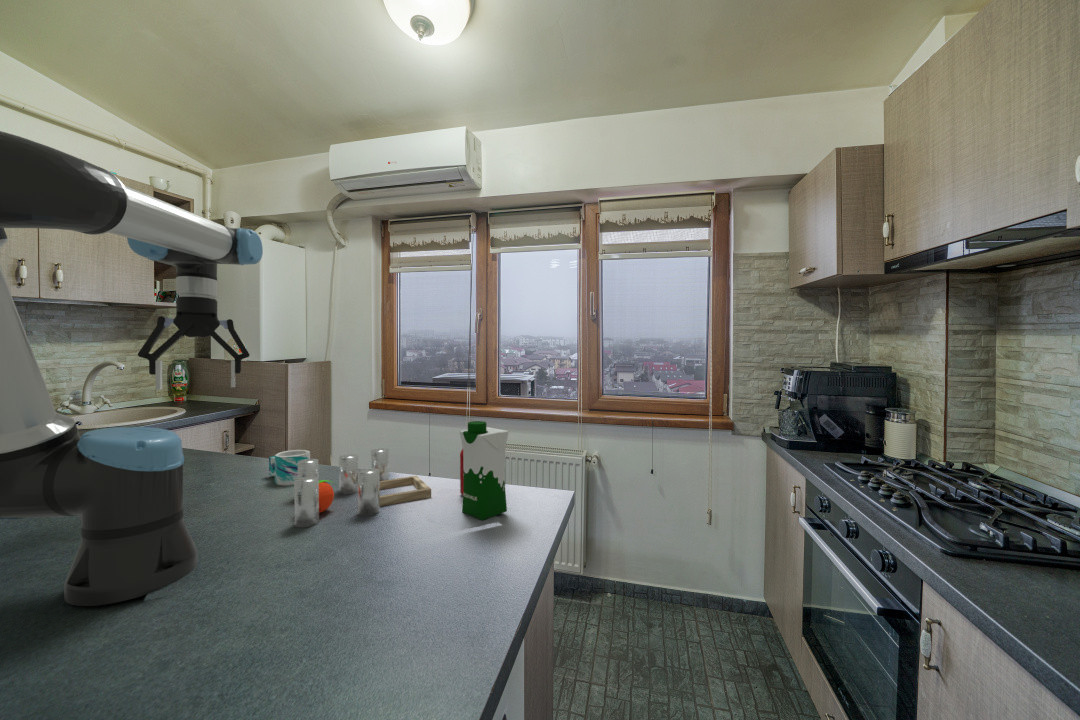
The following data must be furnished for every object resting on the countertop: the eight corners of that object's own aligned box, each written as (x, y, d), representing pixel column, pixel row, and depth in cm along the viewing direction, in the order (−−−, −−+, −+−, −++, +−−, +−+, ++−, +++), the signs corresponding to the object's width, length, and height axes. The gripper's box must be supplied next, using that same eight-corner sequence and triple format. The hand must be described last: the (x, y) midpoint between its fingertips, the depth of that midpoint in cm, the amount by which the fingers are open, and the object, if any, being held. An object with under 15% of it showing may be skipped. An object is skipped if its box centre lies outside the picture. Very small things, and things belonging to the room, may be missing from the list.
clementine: (332, 503, 100) (332, 473, 99) (343, 511, 95) (343, 479, 94) (294, 512, 94) (294, 480, 94) (304, 521, 89) (303, 487, 89)
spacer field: (409, 508, 97) (409, 468, 96) (295, 529, 85) (294, 484, 85) (386, 480, 118) (386, 447, 117) (292, 494, 106) (292, 458, 106)
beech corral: (431, 497, 104) (431, 489, 104) (373, 507, 97) (373, 498, 97) (416, 483, 115) (416, 475, 115) (364, 491, 108) (364, 483, 108)
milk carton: (456, 512, 94) (455, 421, 94) (487, 501, 101) (487, 417, 100) (481, 523, 88) (481, 426, 88) (513, 511, 95) (513, 421, 94)
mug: (287, 490, 109) (287, 457, 109) (258, 484, 114) (258, 452, 114) (316, 481, 116) (316, 451, 116) (288, 476, 122) (287, 446, 122)
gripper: (260, 303, 110) (260, 385, 110) (128, 295, 96) (128, 389, 96) (261, 299, 104) (261, 387, 104) (119, 290, 90) (119, 391, 90)
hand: (197, 388), depth 100 cm, fingers open, 13 cm apart
